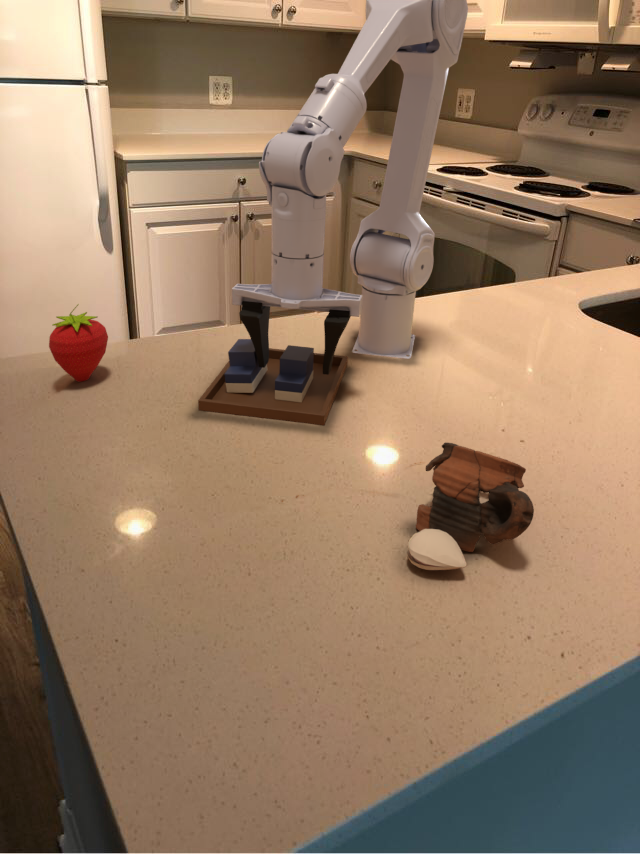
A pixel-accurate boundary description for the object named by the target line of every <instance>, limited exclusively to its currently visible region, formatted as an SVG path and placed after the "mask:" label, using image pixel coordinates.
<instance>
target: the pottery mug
mask: <svg viewBox="0 0 640 854" xmlns="http://www.w3.org/2000/svg"><path fill="white" fill-rule="evenodd" d="M441 448H442V452H441V454H439V455H437V456H435V457H434V458H432V459H431V460H430V461H429V462H428V463H427V464H426V465H425V471H426V472H431V470H432V471H433V472H432V478H431V480H432V482H433V484H434V486H435V487H433V492H432V500H431V506H428V505H426V504H424V503H421V504H419V505H418V507H417V510H416V524H415V529H416V530H417V531H418V532H420V531H421V530H423V529H437V530H441V531H444V532H446V533H448V534H449V535H450V536H451V537H452V538H453V539H454V540H455V541H456V542H457V544H458V546H459V548H460V549H461V551H464V552H469V553H473V552H474V550H475V548H476V545H477V543H478V542H479V540H480V538H481V536H482V535H483V537H484V539H485V541H486V542H488V543H489V544H491V545H497V544H500V543H502V542H504V541H512V540H514V539H517V538H518V537H519V536H521V535H522V534H523V533H524V532H526V530H527V529H528V528H529V527H530V525H532V524H531V523H532V521H533V520H534V519H533V518H534V514H535V508H534V503H533V501H532V499H531V498H530V496H529V495H528V494H527V493H526V492H524V491H522V490H520V489H523V488H524V487H525V484H524V482H523V477H524V474H525V473H526V471H527V469H526V468H525V467H524V466H522V465H521V464H519V463H516V462H513V461H511V460H508V459H506V458H502V457H500V456H496V455H492V454H489V453H486V452H483V451H479V450H475V449H472V448H470V447H466V446H462V445H459V444H457V443H453V442H444V443H443V444H442V445H441ZM481 492H482V493H485V494H486V493H488V496H487V497H488V500H487V501H485V502H481V500H480V493H481Z"/></svg>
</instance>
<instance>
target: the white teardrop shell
mask: <svg viewBox="0 0 640 854" xmlns="http://www.w3.org/2000/svg"><path fill="white" fill-rule="evenodd" d="M406 555H407V559H408V560H409V561H410V563H411V564H412V565H414V566H416V567H417V568H419V569H422V570H426V571H447V570H457V569H463V568H465V567H467V562H466V559H465V556H464V553H463V550H461V549H460V548H459V546H458V544H457V542H456V541H455V540H454V539H453V538H452V537H451V536H450V535H449V534H448V533H446V532H444V531H441V530H437V529H423V530H421V531H417V532H415V533H413V535H412V536H411V537H410V538H409V540H408V543H407V550H406Z"/></svg>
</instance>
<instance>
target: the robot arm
mask: <svg viewBox="0 0 640 854" xmlns="http://www.w3.org/2000/svg"><path fill="white" fill-rule="evenodd" d="M467 1H468V0H365V21H364V24H363V25H362V27H361V29H360V31H359V32H358V35H357V37H356V38H355V40H354V42H353V44H352V46H351V48H350V50H349V51H348V53H347V55H346V57H345V59H344V61H343V63H342V65H341V67H340V68H339V70H338V73H329V74H326V75H324V76H322V77H319V78H318V80H317V82H316V83H315V84H314V88H313V90H312V92H311V94H310V95H309V96H308V98H307V100H306V101H305V103H304V104H303V106H301V109H300V110H299V111H298V113H297V114H296V116H295V118H294V120H293V121H292V122H291V123H290V126H289V127H288V128H287V130H286V131H281V132H280V133H276V134H275V135H274V136H273V137H272V138H271V139H269V140H268V141H267V143H266V145H265V146H264V149H263V151H262V155H261V161H259V162H258V170H259V174H260V178H261V180H262V182H263V184H264V185H265V188H266V202H268V205H269V206H270V207H271V250H270V251H271V269H270V270H271V275H270V276H271V279H270V280H271V283H265V284H264V283H258V284H257V283H256V284H255V283H254V284H253V283H250V284H248V283H236V284H235V285H234V286H233V287H232V288H231V305H232V306H241V310H240V311H239V313H238V314H239V319H240V321H241V323H242V325H243V326H244V328H245V330H246V331H247V333H248V335H249V339H251V340H252V342H253V345H254V348H255V351H256V355H257V359H258V364H259V367H262V368H265V366H266V365H267V363H268V361H269V348H270V342H269V340H270V338H269V327H270V326H269V325H270V315H271V314H270V313H271V308H282V309H290V310H302V311H303V310H304V311H314V312H323V313H324V312H325V313H327V315H326V316H325V319H324V321H323V327H324V328H323V329H324V330H323V331H324V351H323V354H324V360H323V374H327V375H328V374H329V373H330V371H331V368H332V361H333V357H334V355H335V354H336V350H337V346H338V345H339V341H340V338H341V337H342V335H343V333H344V332H345V330H346V328H347V326H348V324H349V321H350V319H351V317H355V318H359V326H358V335H357V337H356V340H355V343H354V345H353V348H352V350H351V353H353V354H358V355H367V356H368V355H369V356H376V357H377V356H379V357H387V358H396V359H397V358H398V359H405V360H409V359H412V355H413V349H414V343H415V340H416V335H415V334H414V333H413V332H412V331H413V324H414V323H413V321H414V314H415V313H414V312H415V304H416V296H417V295H416V294H417V292H418V291H419V290H421V289H422V288H423V287H424V286H425V285H426V283H427V282H428V281H429V279H430V277H431V274H432V272H433V268H434V262H435V261H434V260H435V259H434V244H435V238H436V237H435V236H436V233H435V232H434V231H433V229H432V228H431V227H430V225H429V224H428V223H427V222H426V220H424V218H423V216H422V215H421V214H420V211H421V207H422V201H423V197H424V192H425V187H426V182H427V177H428V172H429V167H430V164H431V163H430V162H431V158H432V153H433V147H434V143H435V138H436V134H437V129H438V124H439V118H440V114H441V109H442V105H443V99H444V94H445V89H446V85H447V80H448V76H449V70H450V68H451V67H453V66H454V65H455V64H457V63H458V60H459V55H460V50H461V48H462V43H463V39H464V34H465V28H466V23H467V19H468V12H469V6H468V5H469V4H468V2H467ZM390 61H392V62H395V63H396V64H398V65H399V66H400V68H401V71H402V73H403V79H402V85H401V90H400V94H399V95H400V96H399V100H398V105H397V106H398V107H397V112H396V117H395V122H394V127H393V133H392V138H391V143H390V147H389V148H390V149H389V152H388V153H389V154H388V158H387V159H388V160H387V165H386V170H385V174H384V175H385V176H384V181H383V186H382V192H381V197H380V201H379V207H378V208H376V210H374V211H372V212H371V213H370V214H368V215H366V216H365V217H364V218H362V219H361V221H360V224H359V229H358V232H357V235H356V237H355V240H354V241H353V242H352V246H351V249H350V253H349V263H350V268H351V272H352V273H353V275H355V277H357V285H360V286H361V294H357V293H356V294H355V293H349V292H344V291H339V290H335V289H330V288H324V263H325V237H326V214H327V213H326V210H327V195H328V194H329V193H330V192H331V191H332V189H333V188H334V187H335V186H336V184H337V183H338V179H339V176H340V171H341V164H342V160H343V158H344V154H345V148H344V147H345V146H346V145H347V142H348V141H349V139H350V138H351V137H352V134H353V133H354V131H355V130H356V128H357V126H358V125H359V124H360V122H361V120H362V119H363V117H364V115H365V114H366V112H367V106H368V104H367V99H366V95H365V94H366V92H367V91H368V90H369V88H370V87H371V86H372V84H373V83H374V82H375V81H376V79H377V78H378V76H379V75H380V74H381V73H382V72H383V70H384V69H385V67H386V66H387V65H388V63H389V62H390ZM386 232H389V233H394V234H399V235H403V236H406V237H407V238H405V237H400V236H395V235H390V234H385V233H386ZM412 333H413V334H412Z"/></svg>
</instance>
